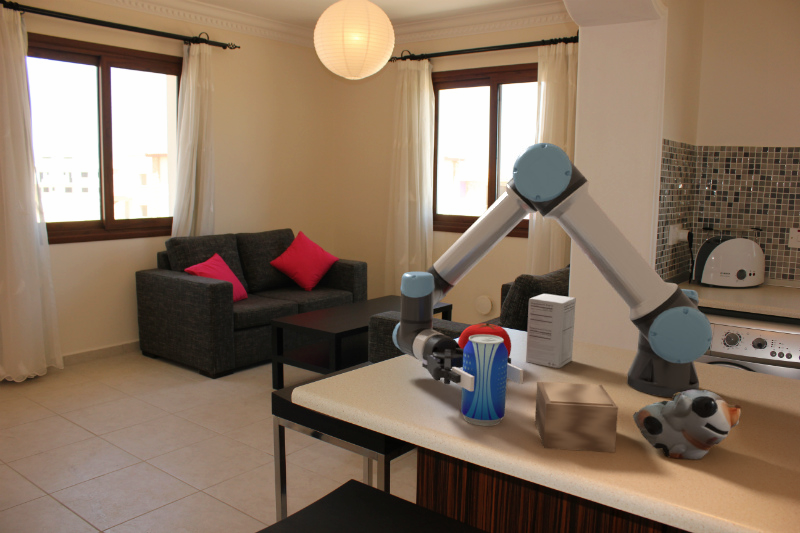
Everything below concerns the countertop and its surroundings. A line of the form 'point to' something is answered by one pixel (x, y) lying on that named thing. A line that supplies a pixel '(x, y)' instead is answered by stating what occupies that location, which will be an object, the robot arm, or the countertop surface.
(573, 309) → the supplement box
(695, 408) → the lucky cat figurine
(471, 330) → the tomato
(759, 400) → the countertop surface
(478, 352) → the beer can
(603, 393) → the block
